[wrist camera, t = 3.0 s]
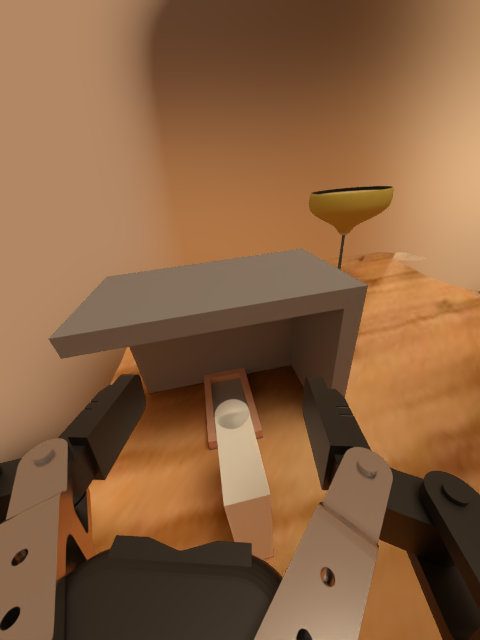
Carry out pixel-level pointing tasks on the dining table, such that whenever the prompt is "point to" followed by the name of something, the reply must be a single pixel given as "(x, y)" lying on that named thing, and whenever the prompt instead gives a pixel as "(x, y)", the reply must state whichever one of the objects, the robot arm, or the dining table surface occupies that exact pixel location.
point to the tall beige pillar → (243, 479)
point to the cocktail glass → (349, 207)
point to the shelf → (224, 324)
